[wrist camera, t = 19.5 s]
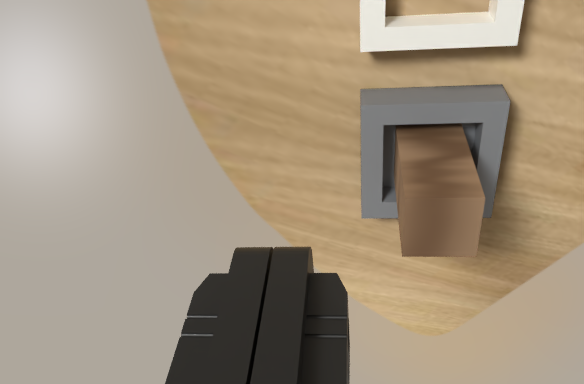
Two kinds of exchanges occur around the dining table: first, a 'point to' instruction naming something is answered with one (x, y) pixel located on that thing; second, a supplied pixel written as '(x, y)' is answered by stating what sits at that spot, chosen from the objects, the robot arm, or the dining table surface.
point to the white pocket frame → (439, 28)
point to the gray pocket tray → (428, 110)
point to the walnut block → (437, 191)
